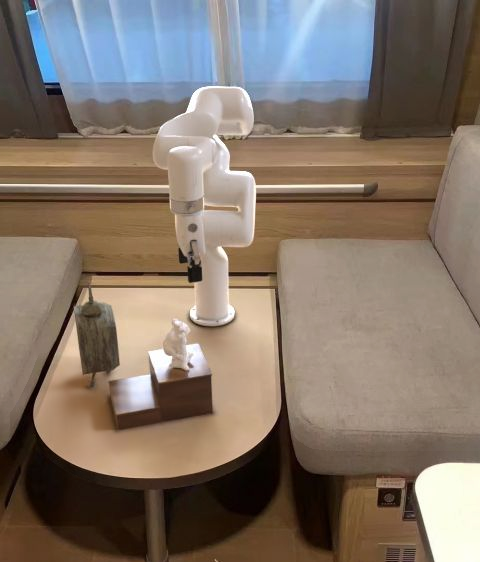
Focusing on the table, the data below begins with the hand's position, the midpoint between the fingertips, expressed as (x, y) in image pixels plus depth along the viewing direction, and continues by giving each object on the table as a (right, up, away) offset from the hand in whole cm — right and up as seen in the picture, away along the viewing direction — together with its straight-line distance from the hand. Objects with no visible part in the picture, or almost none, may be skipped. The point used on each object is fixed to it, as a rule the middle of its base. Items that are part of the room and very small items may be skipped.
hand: (190, 271), depth 175 cm
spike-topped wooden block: (-23, -26, +15) cm, 38 cm away
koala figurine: (-2, -21, -1) cm, 22 cm away
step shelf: (-7, -31, +3) cm, 32 cm away
